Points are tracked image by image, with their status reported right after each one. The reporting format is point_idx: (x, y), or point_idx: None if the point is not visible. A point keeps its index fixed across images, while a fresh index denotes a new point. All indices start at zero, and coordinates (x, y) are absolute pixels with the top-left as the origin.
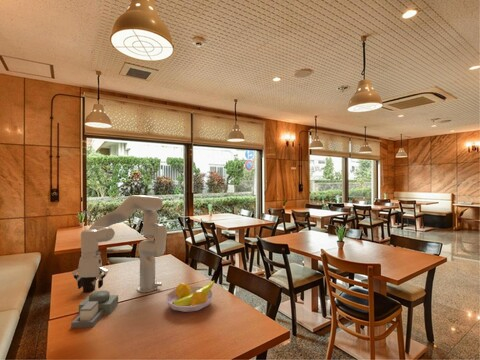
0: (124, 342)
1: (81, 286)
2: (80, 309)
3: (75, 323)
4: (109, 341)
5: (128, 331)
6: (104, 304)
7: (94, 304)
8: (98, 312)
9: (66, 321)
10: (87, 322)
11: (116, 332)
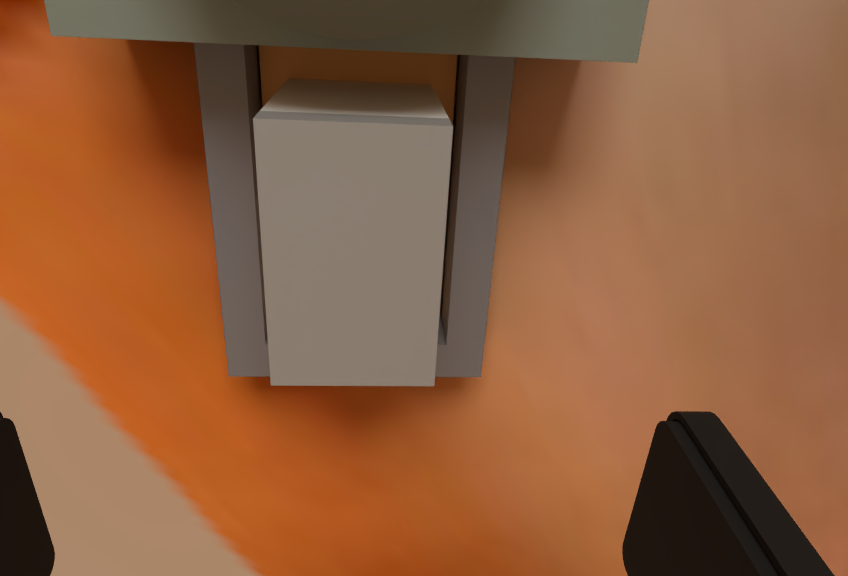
0: None
1: (15, 503)
2: (277, 383)
3: None
4: None
5: (826, 423)
6: (535, 55)
7: (432, 250)
8: (463, 155)
9: (81, 207)
10: None
11: None
